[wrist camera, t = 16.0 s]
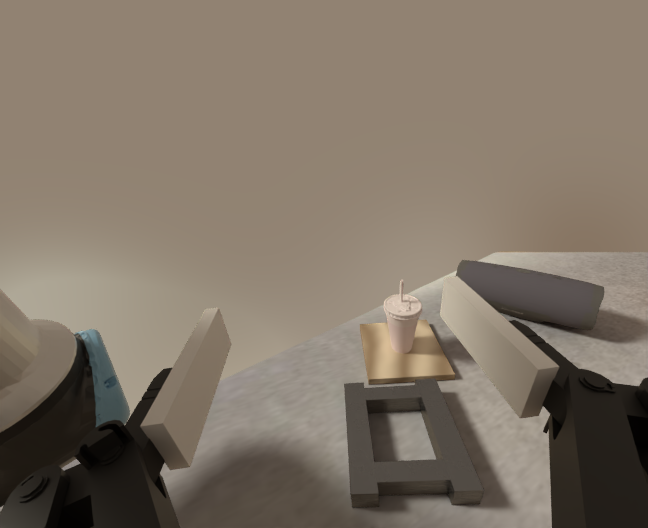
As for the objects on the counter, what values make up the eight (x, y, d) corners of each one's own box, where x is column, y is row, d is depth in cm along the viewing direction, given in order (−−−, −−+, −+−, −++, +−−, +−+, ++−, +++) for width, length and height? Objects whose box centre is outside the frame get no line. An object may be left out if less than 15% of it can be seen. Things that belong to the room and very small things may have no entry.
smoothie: (409, 331, 52) (412, 270, 46) (426, 354, 46) (432, 288, 40) (379, 338, 51) (377, 276, 45) (392, 362, 45) (392, 296, 39)
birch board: (368, 384, 43) (368, 379, 43) (360, 328, 56) (359, 324, 55) (454, 379, 42) (455, 374, 42) (425, 324, 55) (426, 319, 55)
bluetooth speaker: (586, 318, 51) (604, 274, 47) (585, 346, 45) (606, 299, 41) (462, 287, 66) (467, 251, 61) (449, 305, 60) (454, 267, 55)
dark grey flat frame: (352, 507, 29) (350, 494, 28) (345, 396, 42) (344, 383, 41) (479, 504, 28) (484, 490, 27) (433, 391, 41) (435, 378, 40)
